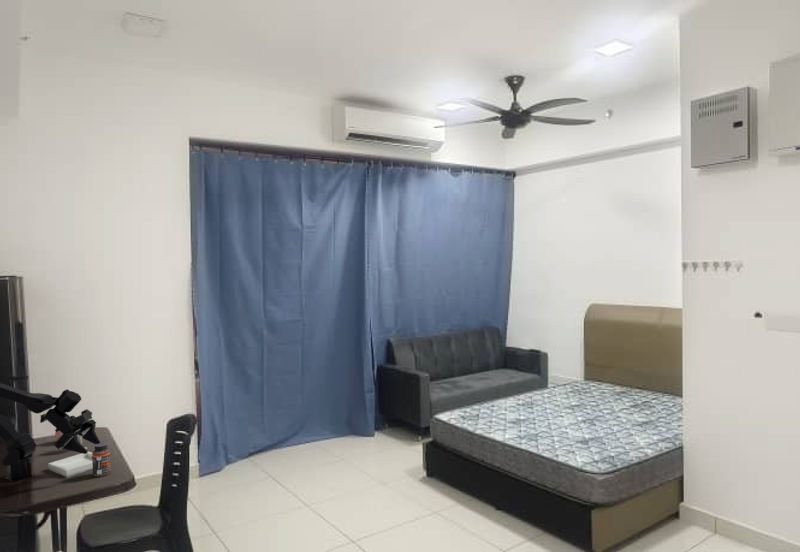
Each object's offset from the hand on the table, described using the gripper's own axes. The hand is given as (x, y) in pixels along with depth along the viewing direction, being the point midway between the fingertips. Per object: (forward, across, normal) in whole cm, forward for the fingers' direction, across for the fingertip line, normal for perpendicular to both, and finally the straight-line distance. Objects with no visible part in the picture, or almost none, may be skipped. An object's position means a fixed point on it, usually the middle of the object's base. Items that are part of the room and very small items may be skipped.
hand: (93, 448), depth 203 cm
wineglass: (-8, +30, +22) cm, 38 cm away
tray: (-1, +9, +15) cm, 17 cm away
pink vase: (-17, +41, +31) cm, 54 cm away
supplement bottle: (+9, 0, +5) cm, 11 cm away
